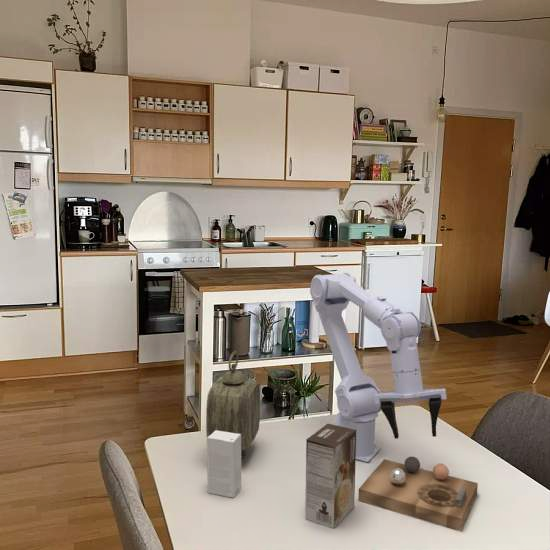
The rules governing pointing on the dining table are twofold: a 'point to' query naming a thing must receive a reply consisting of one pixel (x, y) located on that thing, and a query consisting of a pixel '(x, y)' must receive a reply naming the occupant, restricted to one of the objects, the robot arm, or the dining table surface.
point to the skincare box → (224, 463)
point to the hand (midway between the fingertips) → (415, 436)
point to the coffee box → (330, 474)
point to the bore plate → (420, 495)
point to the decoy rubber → (412, 464)
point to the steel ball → (397, 476)
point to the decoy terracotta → (440, 471)
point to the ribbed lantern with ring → (234, 406)
